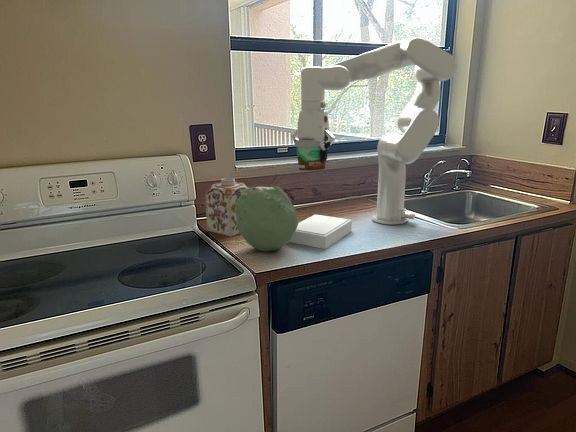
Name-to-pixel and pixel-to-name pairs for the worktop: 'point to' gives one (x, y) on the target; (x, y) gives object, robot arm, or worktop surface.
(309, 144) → the food container
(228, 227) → the decorative jar
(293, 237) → the base
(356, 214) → the worktop surface
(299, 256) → the worktop surface
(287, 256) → the worktop surface
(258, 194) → the cabbage
